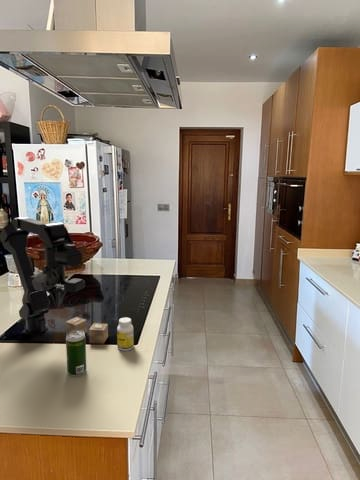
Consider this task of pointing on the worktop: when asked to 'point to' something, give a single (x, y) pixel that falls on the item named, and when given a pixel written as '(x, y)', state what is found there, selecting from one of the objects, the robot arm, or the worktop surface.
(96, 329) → the marked cube
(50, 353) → the worktop surface
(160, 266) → the worktop surface
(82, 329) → the marked cube
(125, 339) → the supplement bottle
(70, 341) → the beer can
